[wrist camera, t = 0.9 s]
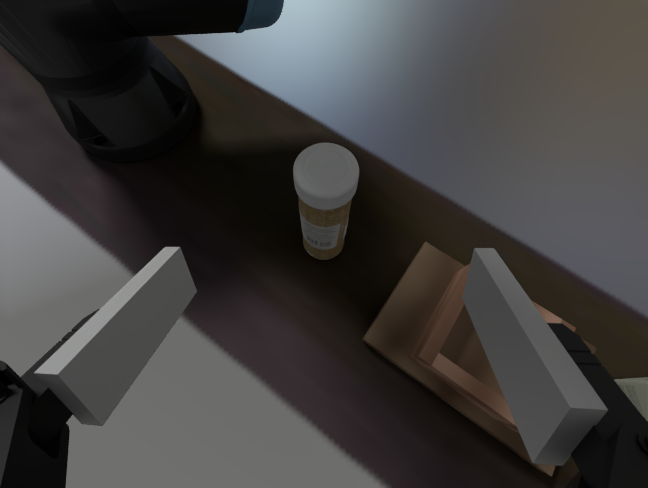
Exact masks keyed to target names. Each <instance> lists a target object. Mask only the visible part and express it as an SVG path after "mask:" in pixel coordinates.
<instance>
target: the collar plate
mask: <svg viewBox="0 0 648 488" xmlns="http://www.w3.org/2000/svg"><path fill="white" fill-rule="evenodd" d="M470 264H471V263H470ZM470 264H468V265H467V266H464V265H462V264H461V263H459V262H458V261H456V260H454V259H453V258H451V257H449V256H448V255H446V254H445V253H443V252H441V251H440V250H438V249H437V248H435V247H433V246H432V245H430V244H429V243H427V242H425V243H424V244H423V245H422V246H421V247H420V249H419V251H418V252H417V254H416V255H415V257H414V258H413V260H412V261H411V263H410V265H409V266H408V268H407V269H406V271H405V272H404V274H403V276H402V277H401V279H400V280H399V282H398V283H397V285H396V287H395V288H394V290H393V291H392V293H391V294H390V296H389V298H388V299H387V301H386V302H385V304H384V305H383V307H382V308H381V310H380V312H379V313H378V315H377V316H376V318H375V319H374V321H373V323H372V324H371V326H370V327H369V329H368V330H367V332H366V334H365V335H364V337H363V338H362V341H363V342H365V343H366V344H367V345H369V346H370V347H372V348H373V349H374V350H376V351H377V352H378V353H380V354H381V355H382V356H384V357H385V358H387V359H388V360H389V361H391V362H392V363H393V364H395V365H396V366H397V367H399V368H400V369H401V370H403V371H404V372H406V373H407V374H408V375H410V376H411V377H412V378H414V379H415V380H416V381H418V382H419V383H421V384H422V385H423V386H425V387H426V388H427V389H429V390H430V391H431V392H433V393H434V394H436V395H437V396H438V397H440V398H441V399H442V400H444V401H445V402H446V403H448V404H449V405H451V406H452V407H453V408H455V409H456V410H457V411H459V412H460V413H461V414H463V415H464V416H466V417H467V418H468V419H470V420H471V421H472V422H474V423H475V424H476V425H478V426H479V427H481V428H482V429H483V430H485V431H486V432H487V433H489V434H490V435H491V436H493V437H494V438H496V439H497V440H498V441H500V442H501V443H502V444H504V445H505V446H506V447H508V448H509V449H511V450H512V451H513V452H515V453H516V454H517V455H519V456H520V457H521V458H523V459H524V460H526V461H527V462H528V463H530V464H531V465H532V466H534V467H535V468H536V469H538V470H539V471H541V472H543V473H545V474H547V475H549V476H551V477H552V475H553V472H554V469H555V466H556V465H547V464H535V463H532V461H531V459H530V456H529V454H528V452H527V449H526V447H525V445H524V442H523V440H522V437H521V435H520V433H519V430H518V428H517V426H516V423H515V421H514V419H513V416H512V414H511V412H510V409H509V407H508V405H507V402H506V400H505V398H504V395H503V393H502V391H501V388H500V386H499V383H498V381H497V379H496V376H495V374H494V372H493V369H492V367H491V365H490V362H489V360H488V358H487V355H486V353H485V351H484V348H483V346H482V344H481V341H480V339H479V337H478V334H477V332H476V330H475V327H474V325H473V322H472V320H471V318H470V315H469V313H468V311H467V308H466V306H465V304H464V301H463V299H462V296H463V292H464V288H465V284H466V280H467V276H468V272H469V268H470ZM532 303H533V304H534V306H535V307H536V309H537V310H538V311H539V313H540V314H541V316H542V317H543V318H544V320H545V321H546V323H563V324H564V325H565V326H567V327H568V328H569V329H571V330H572V331H573V332H574V331H575V329H576V328H575V327H573V326H572V325H570V324H568V323H567V322H565V321H564V320H562V319H560V318H559V317H557V316H556V315H554V314H552V313H551V312H549V311H547V310H546V309H544V308H543V307H541V306H539V305H538V304H536V303H534V302H533V301H532ZM582 340H583V339H582ZM583 341H584V340H583ZM584 343H585V344H586V345H587V346H588V348H589V349H590V350H591V353H592V354H595V351H596V347H594V346H592V345H591V344H589V343H588V342H586V341H584Z"/></svg>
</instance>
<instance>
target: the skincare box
mask: <svg viewBox="0 0 648 488" xmlns="http://www.w3.org/2000/svg"><path fill="white" fill-rule="evenodd" d="M614 381H615V382H616V383H617V384H618V386H619V387H620V388H621V389H622V391H623V392H624V393H625V394H626V396H627V397H628V398H629V399H630V401H631V402H632V403H633V405H634V406H635V407H636V408H637V410H638V411H639V412H640V413H641V415H642V416H643V417H644V418H645V419H646V420H647V421H648V377H643V378H627V379H616V380H614Z"/></svg>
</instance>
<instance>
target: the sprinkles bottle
mask: <svg viewBox="0 0 648 488" xmlns="http://www.w3.org/2000/svg"><path fill="white" fill-rule="evenodd" d="M293 177H294V185H295V190H296V192H297V194H298V198H299V212H300V219H301V227H302V234H303V244H304V248H305V250H306V251H307V253H308V254H309V255H311V256H312V257H314V258H317V259H320V260H327V259H331V258H333V257H335V256H337V255H338V254H339V253H340V252H341V250H342V248H343V245H344V237H345V234H346V230H347V225H348V219H349V212H350V207H351V201H352V197H353V196H354V194H355V192H356V189H357V185H358V179H359V166H358V163H357V160H356V158H355V157H354V156H353V154H352V153H351V152H350V151H349V150H347V149H346V148H344V147H342V146H340V145H337V144H333V143H318V144H314V145H312V146H309V147H307V148H306V149H304V150H303V151H302V152H301V153H300V154H299V155H298V157H297V158H296V160H295V163H294V167H293Z"/></svg>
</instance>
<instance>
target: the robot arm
mask: <svg viewBox="0 0 648 488" xmlns="http://www.w3.org/2000/svg"><path fill="white" fill-rule="evenodd" d="M283 3H284V0H0V45H1V46H2V47H3V48H4V49H5V50H7V51H8V52H9V53H10V54H11V55H12V56H13V57H14V58H15V59H16V60H17V61H18V62H19V63H20V64H21V65H22V66H23V67H24V68H25V69H26V70H27V71H28V72H29V73H30V74H31V75H32V76H33V77H34V78H35V79H36V80H37V81H38V82H39V83H40V84H41V85H42V87H43V88H44V90H45V92H46V94H47V96H48V97H49V99H50V101H51V103H52V105H53V107H54V108H55V110H56V112H57V114H58V116H59V117H60V119H61V121H62V123H63V125H64V126H65V128H66V130H67V131H68V133H69V134H70V135H71V136H72V138H73V139H75V140H76V141H77V142H78V143H79V144H80V145H81V146H82V147H83V148H84V149H86V150H87V151H88V152H89V153H91V154H92V155H94V156H96V157H98V158H101V159H104V160H108V161H113V162H135V161H140V160H145V159H148V158H152V157H154V156H157V155H159V154H161V153H163V152H165V151H167V150H169V149H170V148H172V147H173V146H174V145H176V144H177V143H178V142H179V141H180V140H181V139H182V138H183V137H184V136H185V135H186V134H187V133H188V131H189V130H190V128H191V127H192V125H193V123H194V120H195V117H196V112H197V104H196V99H195V96H194V94H193V92H192V90H191V88H190V85H189V83H188V81H187V80H186V78H185V77H184V75H183V74H182V73H181V72H180V71H179V70H178V68H177V67H176V66H175V65H174V64H173V63H172V62H171V61H170V60H169V59H168V58H167V57H166V56H165V54H164V53H163V52H162V51H161V50H160V49H159V48H158V47H157V46H156V45H155V44H154V43H153V42H152V41H151V39H150V38H149V37H148V36H165V35H187V34H208V33H229V32H236V33H242V32H244V31H245V30H250V29H257V28H264V27H269V26H271V25H273V24H274V23H275V22H276V21H277V20H278V19H279V17H280V15H281V12H282V8H283ZM196 293H197V290H196V287H195V285H194V282H193V279H192V277H191V274H190V272H189V269H188V266H187V264H186V261H185V258H184V256H183V253H182V251H181V248H180V247H164V248H163V249H162V250H161V251H160V252H159V253H158V254H157V255H156V256H155V257H154V258H153V259H152V260H151V261H150V262H149V263H148V264H147V265H146V266H145V267H144V268H143V269H142V270H140V271H139V272H138V273H137V274H136V275H135V276H134V277H133V278H132V279H131V280H130V281H129V282H128V283H127V284H126V285H125V286H124V287H123V288H122V289H121V290H120V291H119V292H118V293H116V294H115V295H114V296H113V297H112V298H111V299H110V300H109V301H108V302H107V303H106V304H105V305H104V306H103V307H102V308H101V309H98V310H96V311H95V312H93V313H92V314H90V315H88V316H87V317H85V318H84V319H82V320H81V321H80V322H79V323H78V324H77V325H76V326H75V327H74V328H73V329H72V331H71V332H69V333H67V334H66V335H65V336H64V337H63V338H62V341H59V342H58V343H57V344H56V345H55V346H54V347H53V348H51V349H50V350H49V351H48V352H47V353H46V354H45V355H44V356H43V357H42V358H41V359H40V360H39V361H38V362H36V363H35V364H34V365H33V366H32V367H31V368H30V369H29V370H28V371H27V372H26V373H25V374H24V375H23V376H21V377H19V376H18V375H17V374H16V373H15V372H14V371H13V370H12V369H11V368H10V367H9V366H8V365H7V364H6V363H5V362H3V361H0V488H65V486H66V472H67V459H68V445H69V426H68V425H67V424H66V422H67V421H68V419H69V418H70V417H71V416H72V415H74V416H75V417H76V418H77V419H78V420H79V421H80V423H81V424H87V425H98V426H103V425H104V423H105V422H106V420H107V419H108V418H109V416H110V415H111V413H112V412H113V410H114V409H115V408H116V406H117V405H118V403H119V402H120V401H121V399H122V398H123V396H124V395H125V393H126V392H127V391H128V389H129V388H130V386H131V385H132V383H133V382H134V381H135V379H136V378H137V376H138V375H139V374H140V372H141V371H142V369H143V368H144V366H145V365H146V364H147V362H148V360H149V359H150V358H151V356H152V355H153V353H154V352H155V351H156V349H157V348H158V347H159V345H160V344H161V342H162V341H163V339H164V338H165V337H166V335H167V334H168V332H169V331H170V329H171V328H172V327H173V325H174V324H175V322H176V321H177V320H178V318H179V317H180V315H181V314H182V312H183V311H184V310H185V308H186V307H187V305H188V304H189V303H190V301H191V300H192V298H193V297H194V295H195V294H196ZM462 299H463V301H464V304H465V306H466V308H467V311H468V313H469V315H470V318H471V320H472V322H473V325H474V327H475V330H476V332H477V334H478V337H479V339H480V341H481V344H482V346H483V348H484V351H485V353H486V355H487V358H488V360H489V362H490V365H491V367H492V369H493V372H494V374H495V376H496V379H497V381H498V383H499V386H500V388H501V391H502V393H503V395H504V398H505V400H506V402H507V405H508V407H509V409H510V412H511V414H512V416H513V419H514V421H515V423H516V426H517V428H518V430H519V433H520V435H521V437H522V440H523V442H524V445H525V447H526V449H527V452H528V454H529V456H530V459H531V461H532V463H535V464H547V465H558V466H563V465H564V464H565V463H566V461H567V460H568V459H569V458H570V457H571V455H572V457H573V459H574V461H575V463H576V465H577V467H578V469H579V470H580V471H579V472H578V474H577V475H576V476H575V477H574V478H573V479H572V480H571V481H570V482H569V484H568V485H567V487H566V488H648V421H647V420H646V419H645V418H644V417H643V416H642V415H641V413H640V412H639V411H638V410H637V408H636V407H635V406H634V405H633V403H632V402H631V401H630V399H629V398H628V397H627V396H626V394H625V393H624V392H623V391H622V389H621V388H620V387H619V386H618V384H617V383H616V382H615V381H614V379H613V378H612V377H611V375H610V374H609V373H608V372H607V370H606V369H605V368H604V367H602V366H601V363H600V362H599V360H598V359H597V358H596V357H595V355H594V354H592V353H591V350H590V349H589V348H588V346H587V345H586V344H585V343H584V341H583V340H582V339H581V338H580V336H578V335H577V334H576V333H575V332H573V331H572V330H571V329H569V328H568V327H567V326H565V325H564V324H563V323H546V321H545V320H544V318H543V317H542V316H541V314H540V313H539V311H538V310H537V309H536V307H535V306H534V304H533V303H532V301H531V300H530V299H529V297H528V296H527V294H526V293H525V292H524V290H523V289H522V287H521V286H520V284H519V283H518V282H517V280H516V279H515V277H514V276H513V275H512V273H511V272H510V270H509V269H508V267H507V266H506V265H505V263H504V262H503V260H502V259H501V258H500V256H499V255H498V253H497V252H496V251H495V249H494V248H474V252H473V256H472V260H471V264H470V268H469V272H468V276H467V280H466V284H465V288H464V292H463V296H462Z"/></svg>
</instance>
